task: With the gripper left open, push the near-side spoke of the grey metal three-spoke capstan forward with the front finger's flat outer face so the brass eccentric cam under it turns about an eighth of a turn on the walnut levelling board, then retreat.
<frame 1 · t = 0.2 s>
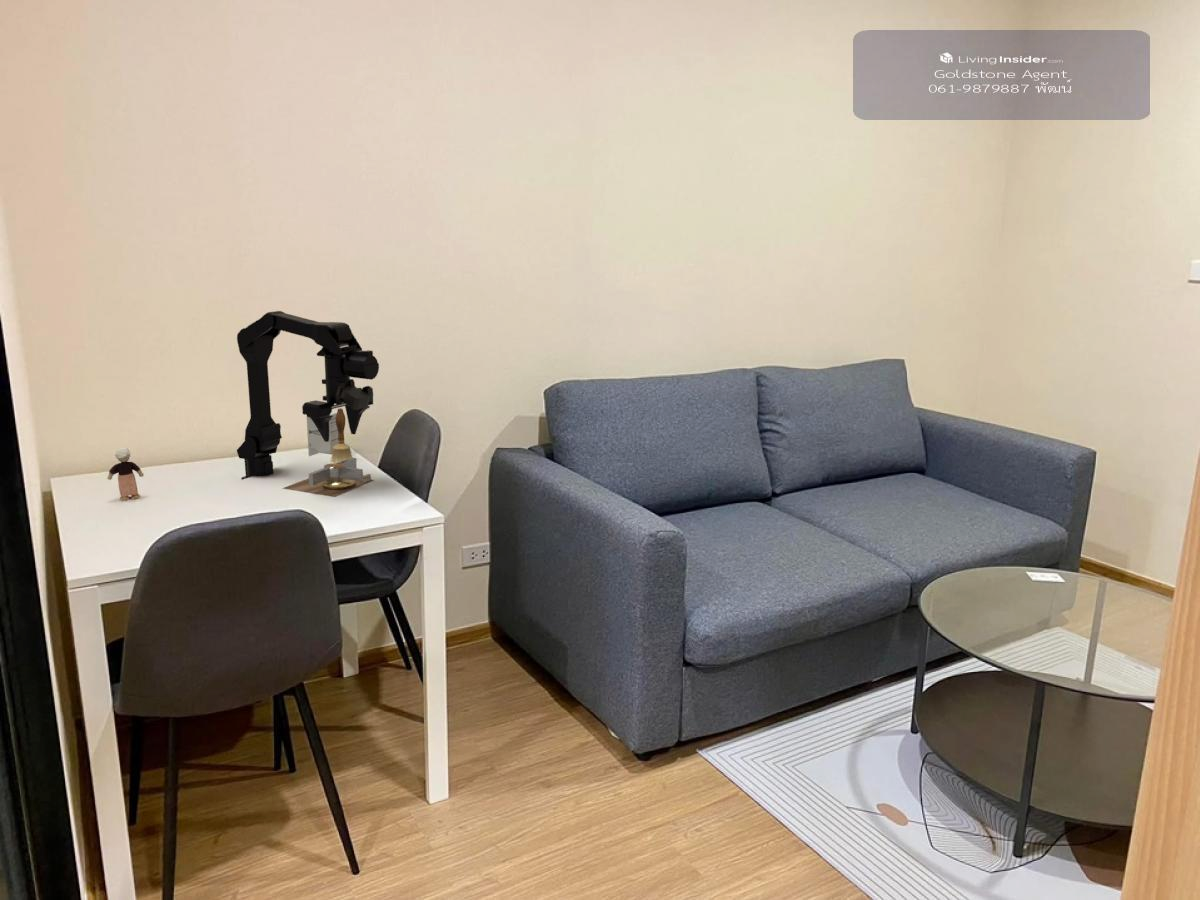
hand: (340, 437, 228), 14 cm above the table, fingers open, 9 cm apart
supplement box: (326, 455, 266), on the table
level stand: (329, 489, 234), on the table
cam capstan: (343, 475, 231), point 4 cm above the table, hinge at 0.0°
hand bell: (342, 466, 256), on the table
grandmother figurine: (127, 499, 224), on the table
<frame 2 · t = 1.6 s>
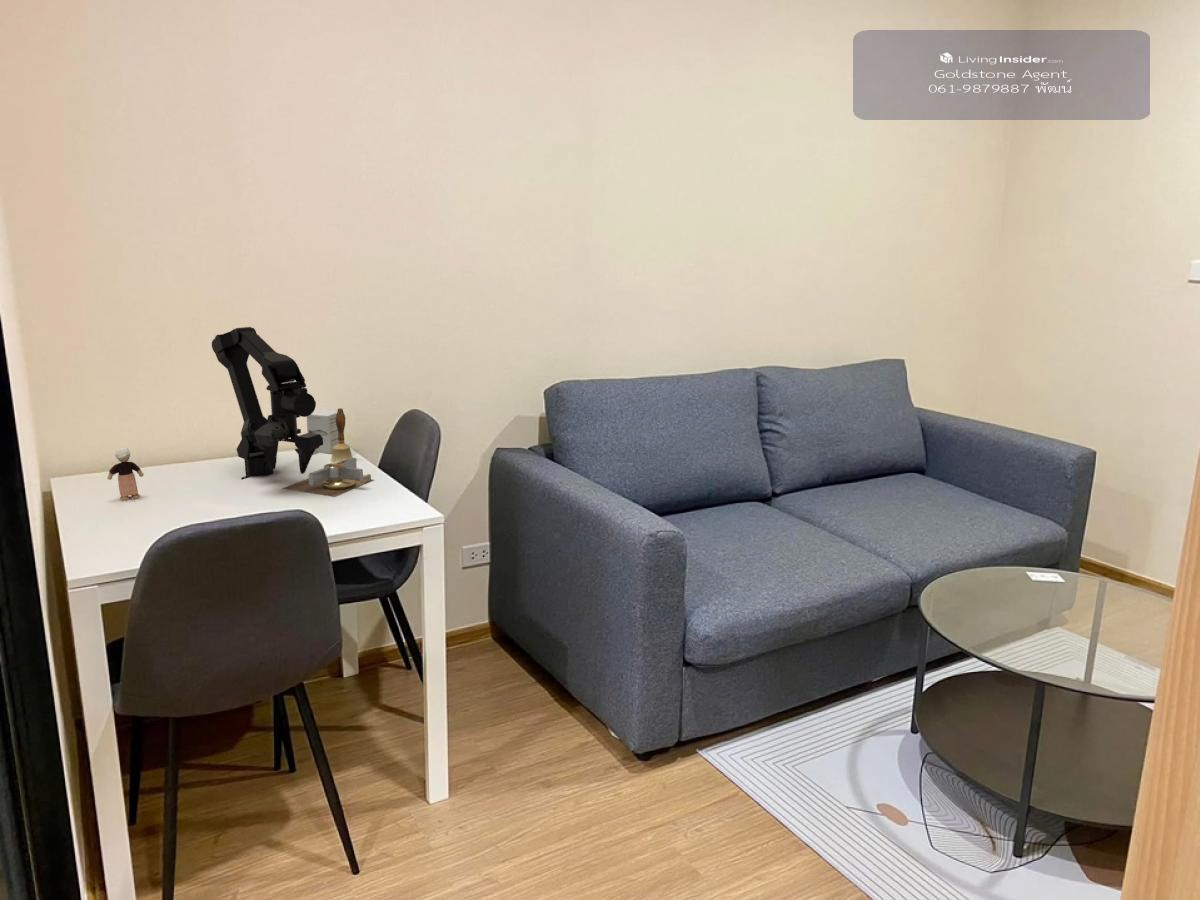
hand: (287, 471, 231), 5 cm above the table, fingers open, 9 cm apart
nothing on the table moved.
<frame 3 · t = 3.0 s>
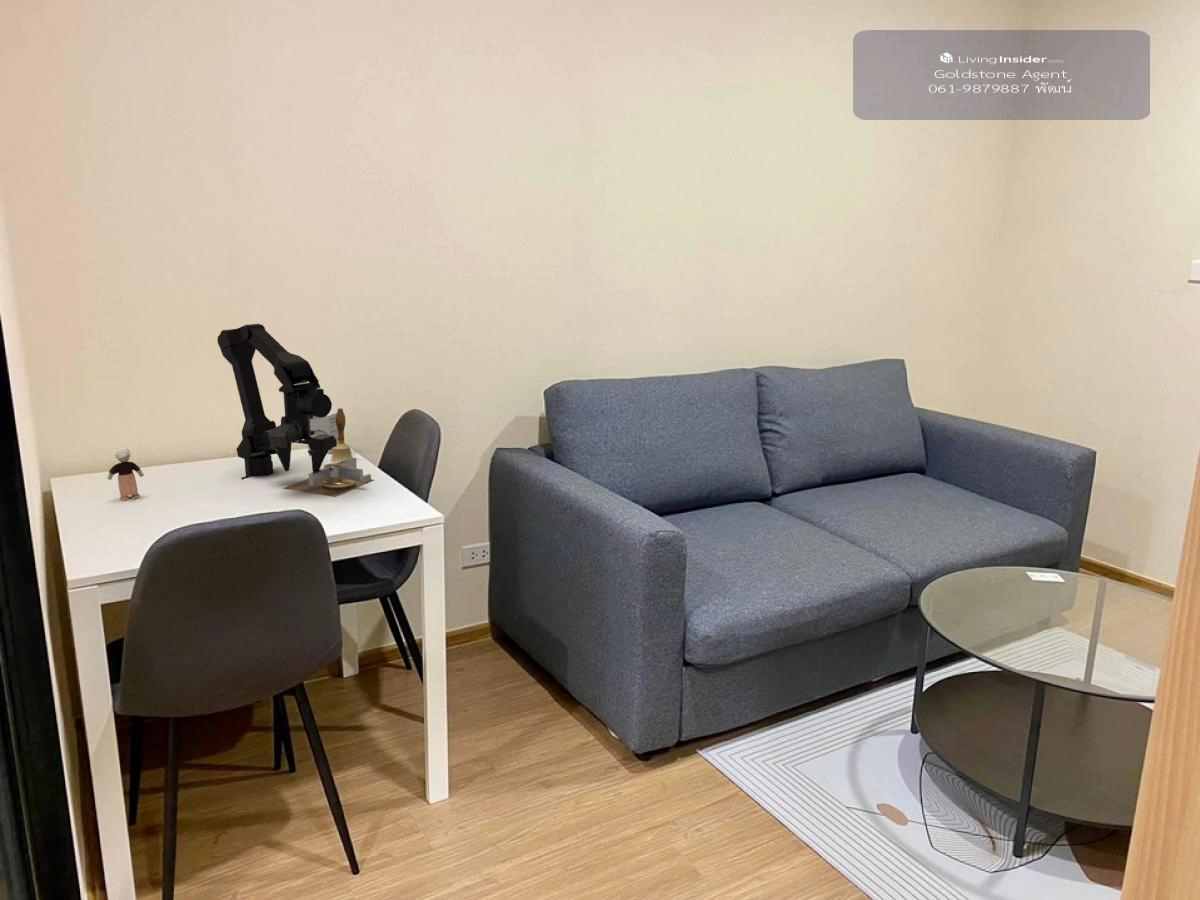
hand: (301, 473, 230), 5 cm above the table, fingers open, 8 cm apart
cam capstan: (343, 475, 231), point 4 cm above the table, hinge at 0.0°, touching gripper
everything else where it was.
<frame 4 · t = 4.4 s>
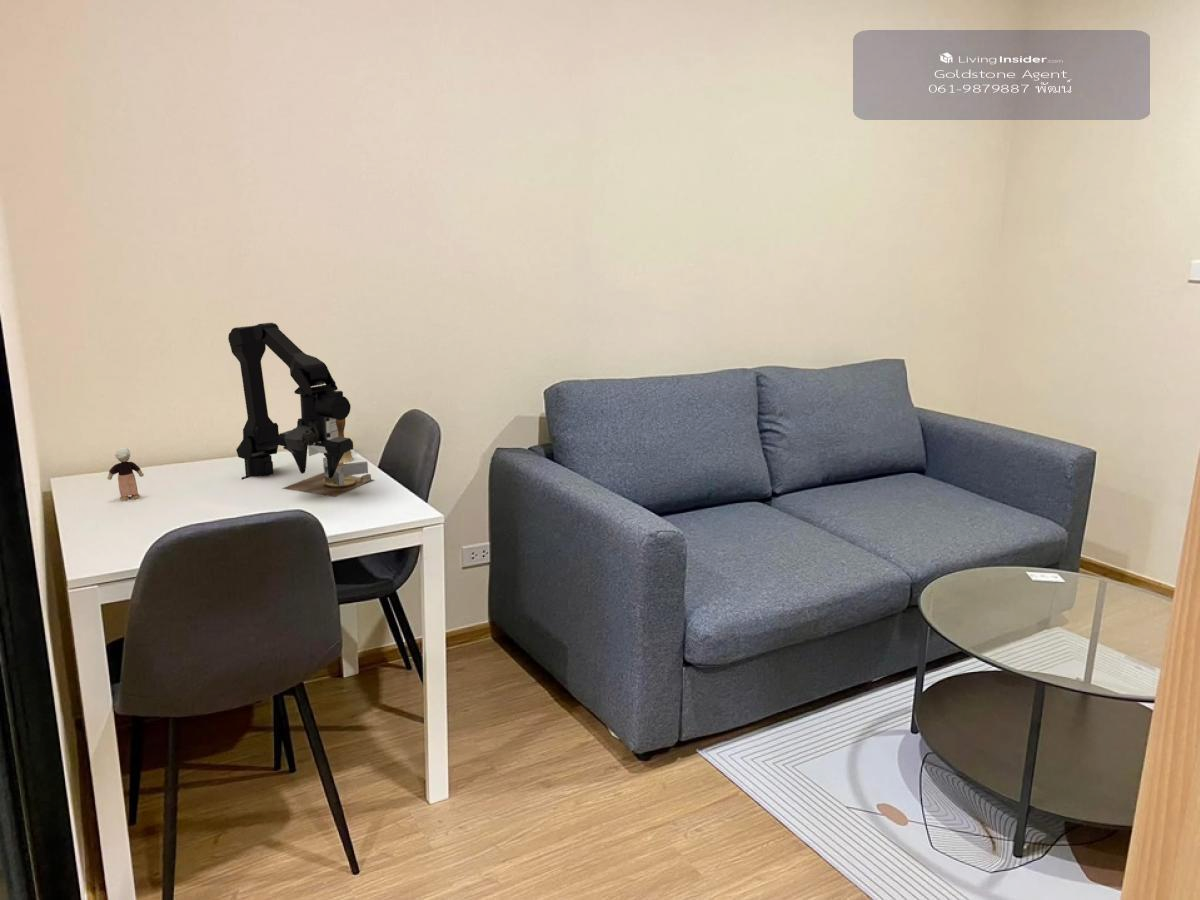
hand: (316, 475, 228), 5 cm above the table, fingers open, 8 cm apart
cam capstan: (345, 472, 234), point 4 cm above the table, hinge at 51.3°, touching gripper
everything else where it was.
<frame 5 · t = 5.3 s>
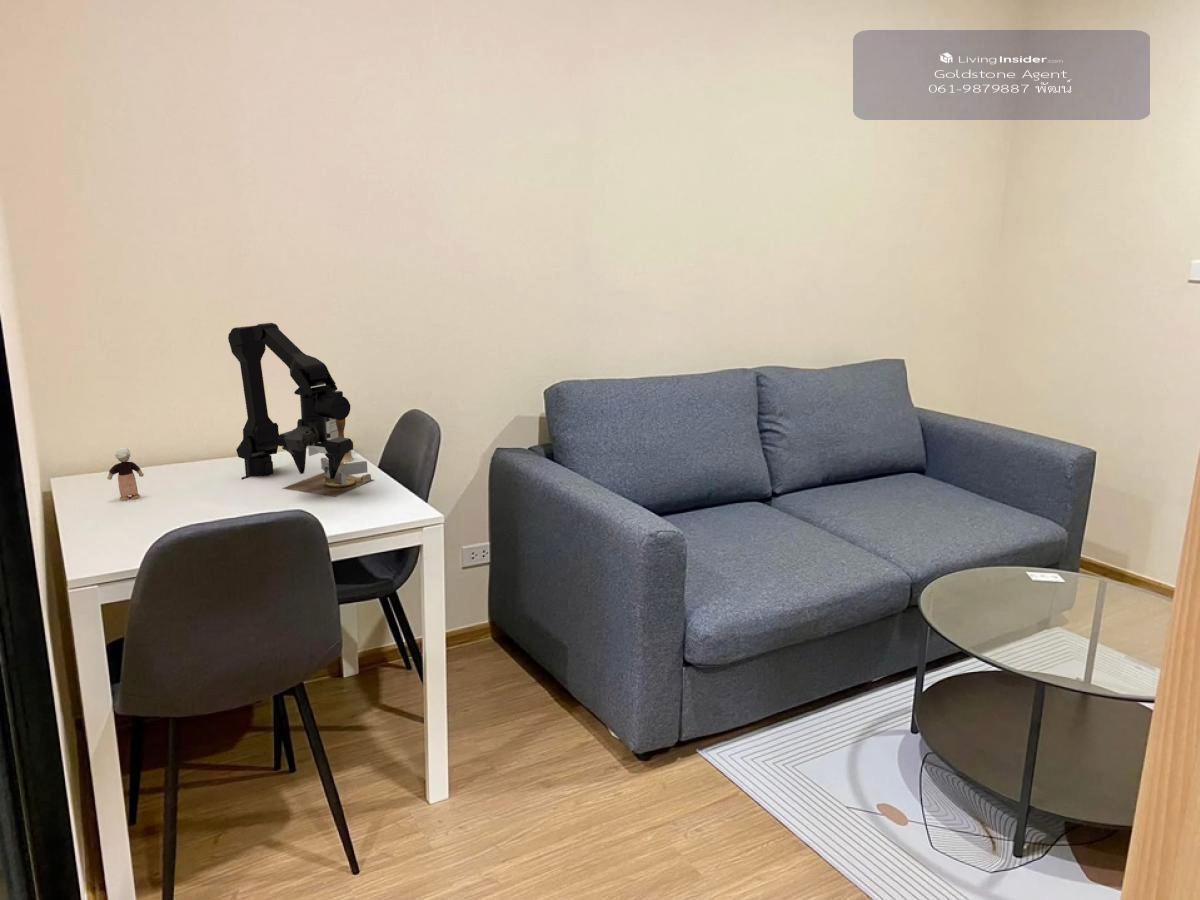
hand: (317, 476, 228), 5 cm above the table, fingers open, 9 cm apart
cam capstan: (345, 472, 234), point 4 cm above the table, hinge at 55.1°
everything else where it was.
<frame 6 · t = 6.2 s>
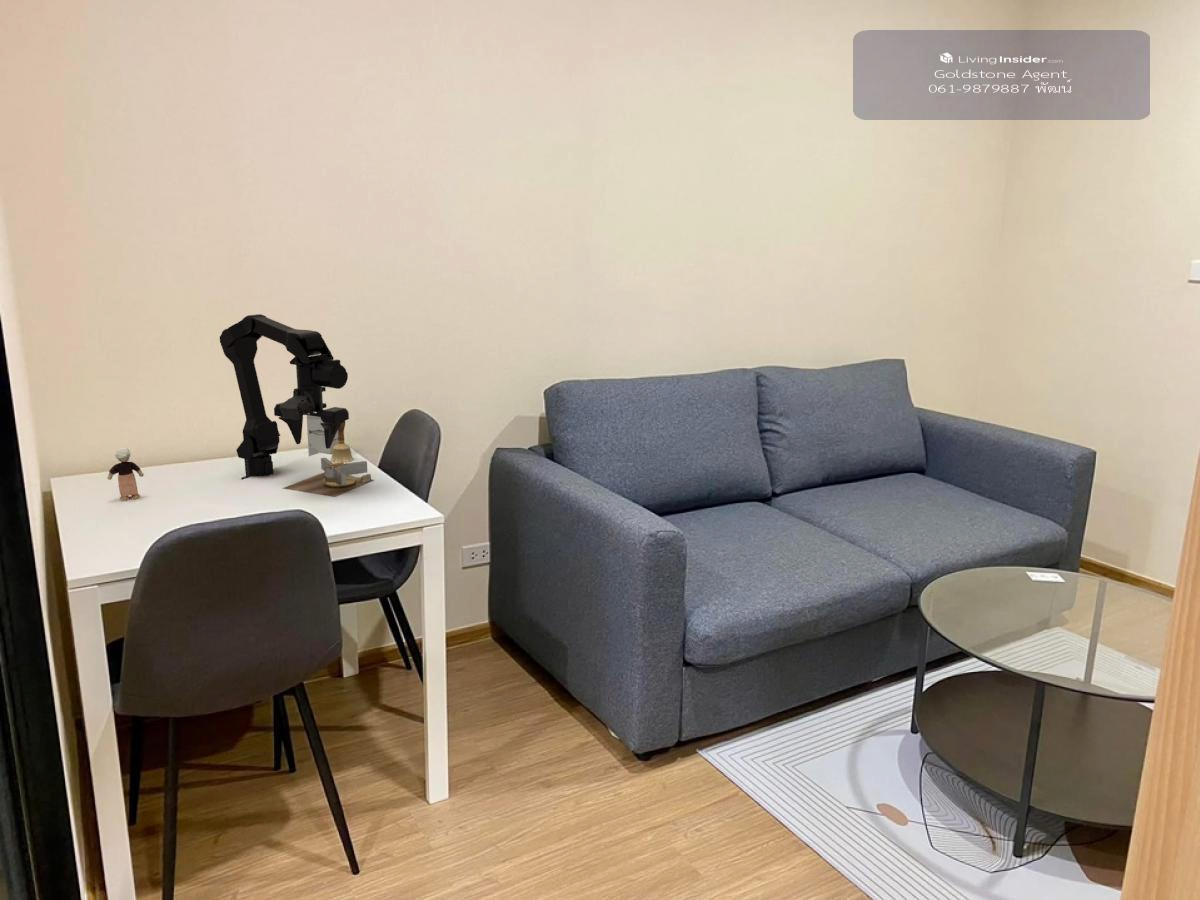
hand: (313, 446, 229), 12 cm above the table, fingers open, 9 cm apart
nothing on the table moved.
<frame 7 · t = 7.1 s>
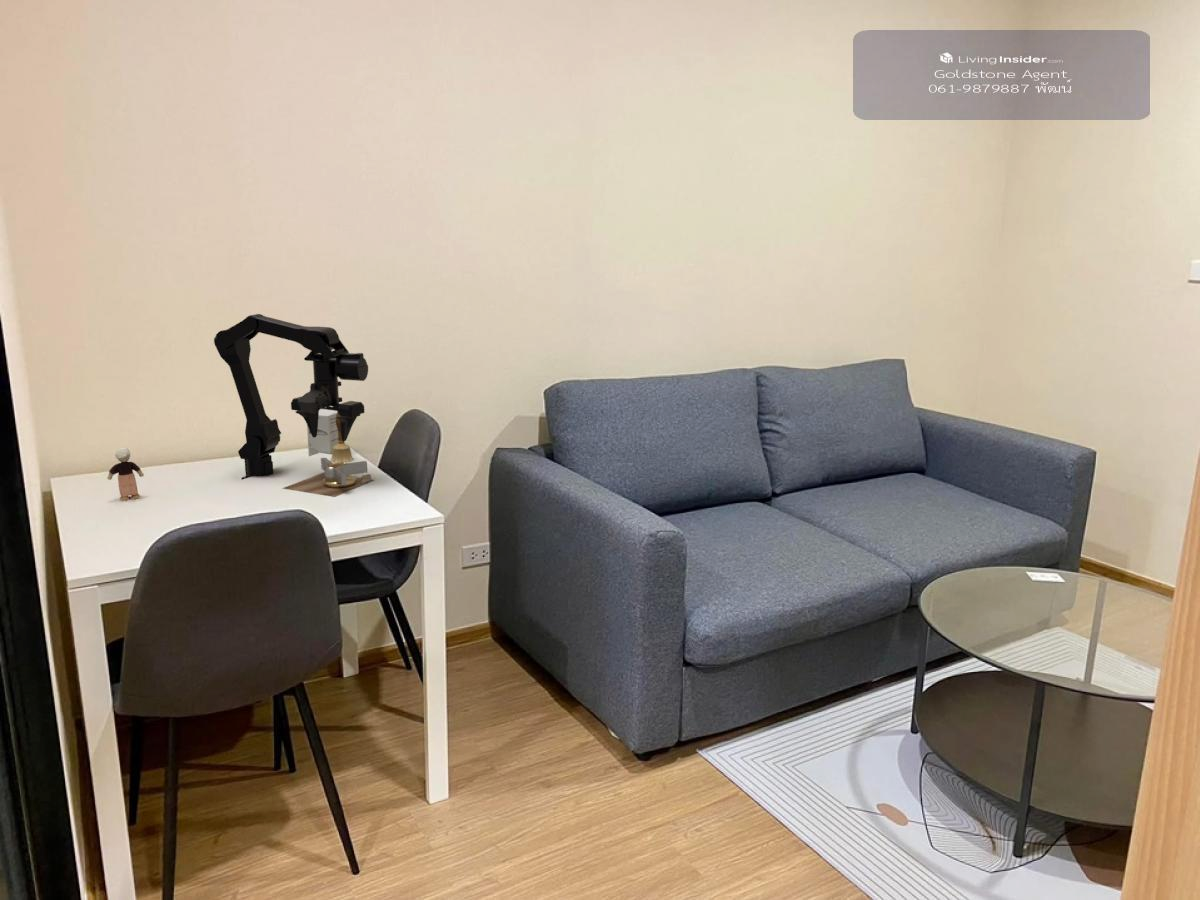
hand: (329, 439, 235), 12 cm above the table, fingers open, 9 cm apart
nothing on the table moved.
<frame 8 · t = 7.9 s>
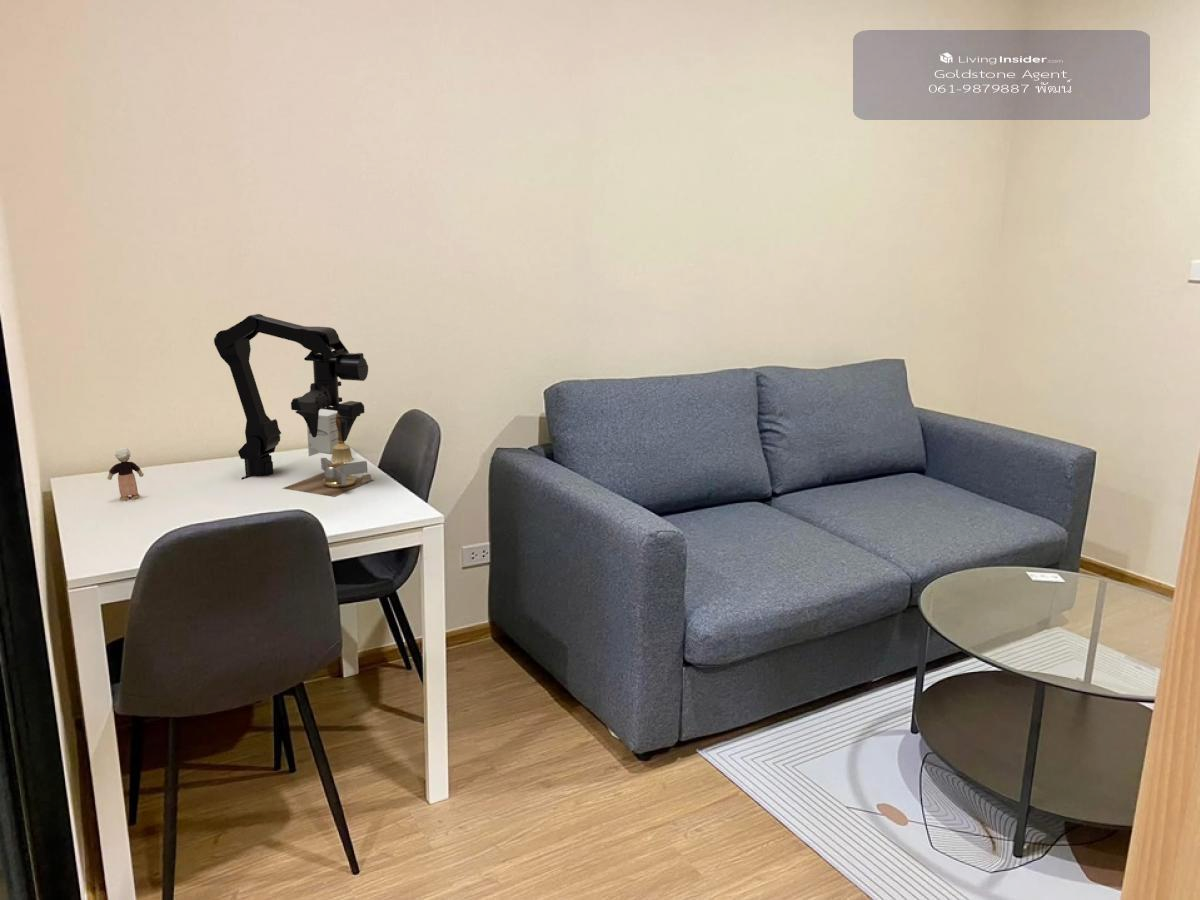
hand: (329, 439, 235), 12 cm above the table, fingers open, 9 cm apart
nothing on the table moved.
at the end: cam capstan at +55° (first picture: +0°) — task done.
